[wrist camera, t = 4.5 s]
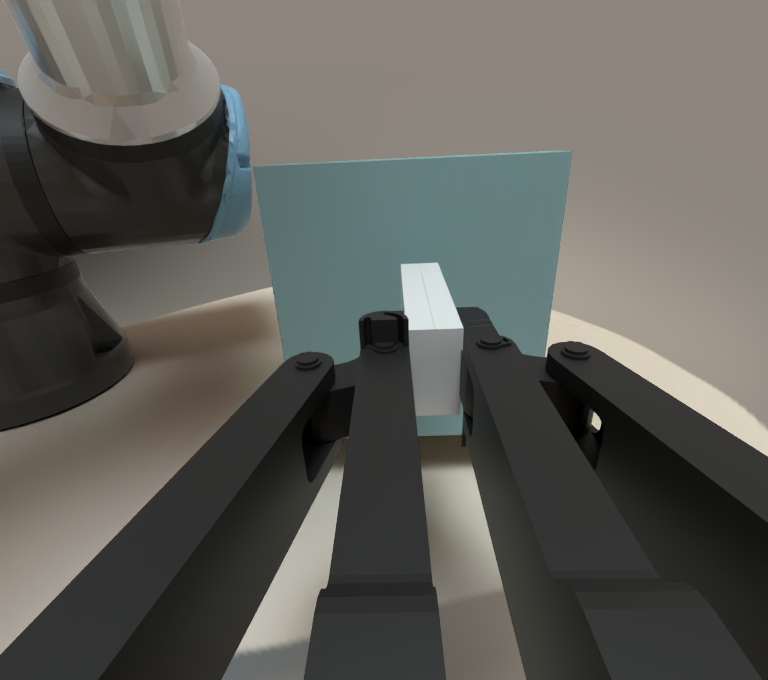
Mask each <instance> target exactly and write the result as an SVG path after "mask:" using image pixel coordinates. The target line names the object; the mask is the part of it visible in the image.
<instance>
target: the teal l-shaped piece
mask: <svg viewBox="0 0 768 680" xmlns="http://www.w3.org/2000/svg"><path fill="white" fill-rule="evenodd" d="M571 158H572V151H543V152H522V153H503V154H502V153H501V154H482V155H460V156H441V157H440V156H439V157H418V158H398V159H377V160H357V161H335V162H315V163H294V164H273V165H260V166H255V167H253V171H254V177H255V183H256V189H257V196H258V202H259V208H260V214H261V220H262V225H263V232H264V238H265V244H266V250H267V256H268V262H269V268H270V274H271V280H272V286H273V293H274V299H275V305H276V311H277V317H278V323H279V329H280V335H281V341H282V347H283V353H284V359H285V361H286V360H287V359H289V358H290V357H292V356H295V355H298V354H299V353H303V352H304V353H306V352H309V351H311V352H321V353H326V354H328V355H330V356H331V357H332V358H333V360H334V365H336V364H341V363H345V362H349V361H351V360H354V359H356V358H357V357H359V356H360V335H359V322H358V321H359V319H360V318H361V317H362V316H364V315H366V314H368V313H372V312H376V311H402V296H401V264H417V263H438V264H439V267H440V269H441V272H442V275H443V277H444V280H445V282H446V285H447V287H448V290H449V292H450V295H451V297H452V300H453V302H454V305H455V307H478V308H480V309H482V310H484V311H485V312H486V313H487V314H488V316H489V318H490V320H491V321H492V323H493V325H494V327H495V328H496V330H497V332H498V334H499V335H501V336H505V337H507V338H509V339H511V340H512V341H514V342H515V343H516V345H517V347H518V348H519V350H520V351H521V353H522V354H525V355H531V356H538V357H545V351H546V344H547V336H548V329H549V322H550V314H551V306H552V299H553V291H554V284H555V277H556V269H557V262H558V254H559V247H560V240H561V232H562V224H563V218H564V210H565V202H566V194H567V187H568V181H569V173H570V166H571ZM416 422H417V433H418V436H440V435H462V425H463V406H462V402H461V407H460V415H433V416H416ZM346 438H348V437H346Z"/></svg>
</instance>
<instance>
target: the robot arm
mask: <svg viewBox="0 0 768 680" xmlns="http://www.w3.org/2000/svg"><path fill="white" fill-rule="evenodd" d="M2 2H3V3H4V5H5V7H6V9H7V11H8V13H9V15H10V16H11V18H12V20H13V22H14V24H15V26H16V28H17V30H18V31H19V33H20V35H21V37H22V39H23V41H24V43H25V44H26V46H27V48H28V50H29V52H28V53H27V55H26V56H25V58H24V59H23V61H22V63H21V65H20V68H19V72H18V87H19V88H16V86H15V83H14V81H12V80H11V79H10V78H9V77H8V75H7V73H6V72H5V71H3V70H2V69H1V68H0V430H1V429H5V428H10V427H14V426H17V425H21V424H25V423H28V422H32V421H35V420H38V419H41V418H44V417H47V416H50V415H53V414H55V413H58V412H60V411H63V410H65V409H68V408H70V407H72V406H75V405H77V404H79V403H81V402H83V401H85V400H87V399H89V398H91V397H93V396H95V395H97V394H99V393H100V392H102V391H104V390H105V389H107V388H108V387H110V386H111V385H113V384H114V383H116V382H117V381H118V380H119V379H120V378H122V377H123V376H124V375H125V374H126V373H127V371H128V370H129V369H130V367H131V366H132V364H133V360H134V357H133V353H132V351H131V348H130V345H129V342H128V339H127V337H126V335H125V333H124V332H123V330H122V329H121V328H120V327H119V326H118V324H117V323H116V322H115V321H114V319H113V318H112V317H111V316H110V315H109V313H108V312H107V311H106V309H105V308H103V306H102V305H101V303H100V302H99V301H98V300H97V299H96V297H95V296H94V295H93V293H92V292H91V291H90V290H89V289H88V287H87V286H86V285H85V283H84V281H83V279H82V276H81V273H80V271H79V268H78V265H77V263H76V260H75V257H74V255H80V254H89V253H99V252H111V251H121V250H132V249H142V248H153V247H164V246H175V245H185V244H195V243H199V244H204V243H206V242H209V241H210V240H216V239H222V238H228V237H233V236H236V235H238V234H240V233H241V232H243V230H244V229H245V228H246V226H247V225H248V222H249V219H250V215H251V207H252V172H251V171H252V170H251V166H250V163H249V161H250V142H249V134H248V127H247V120H246V115H245V111H244V107H243V104H242V100H241V97H240V95H239V93H238V92H237V91H236V90H235V89H233V88H231V87H226V86H225V85H223V84H220V80H219V76H218V73H217V71H216V69H215V67H214V65H213V63H212V62H211V61H210V59H209V58H208V57H207V56H206V55H205V54H204V53H203V52H202V51H201V50H200V49H199V48H197V47H196V46H195V45H193V44H192V43H191V42H189V41H188V39H187V35H186V30H185V25H184V21H183V16H182V11H181V7H180V2H179V0H2ZM401 296H402V311H376V312H372V313H368V314H366V315H364V316H362V317H361V318H360V319H359V321H358V322H359V335H360V356H359V357H357V358H356V359H354V360H351V361H349V362H345V363H341V364H336V365H334V360H333V358H332V357H331V356H330V355H328V354H326V353H321V352H311V351H309V352H306V353H304V352H303V353H299V354H298V355H295V356H292V357H290V358H289V359H287V360H286V361H285V362H284V363H283V364H282V365H281V366H280V367H279V368H278V369H277V370H276V371H275V372H274V373H273V374H272V375H271V376H270V377H269V378H268V379H267V380H266V381H265V382H264V383H263V384H262V385H261V386H260V387H259V389H258V390H257V391H256V392H255V393H254V394H253V395H252V396H251V397H250V398H249V399H248V400H247V401H246V402H245V403H244V404H243V405H242V406H241V407H240V408H239V409H238V410H237V411H236V412H235V413H234V414H233V415H232V416H231V417H230V418H229V419H228V421H227V422H226V423H225V424H224V425H223V426H222V427H221V428H220V429H219V430H218V431H217V432H216V433H215V434H214V435H213V436H212V437H211V438H210V439H209V440H208V441H207V442H206V443H205V444H204V445H203V446H202V447H201V448H200V449H199V450H198V451H197V452H196V454H195V455H194V456H193V457H192V458H191V459H190V460H189V461H188V462H187V463H186V464H185V465H184V466H183V467H182V468H181V469H180V470H179V471H178V472H177V473H176V474H175V475H174V476H173V477H172V478H171V479H170V480H169V481H168V482H167V483H166V484H165V485H164V487H163V488H162V489H161V490H160V491H159V492H158V493H157V494H156V495H155V496H154V497H153V498H152V499H151V500H150V501H149V502H148V503H147V504H146V505H145V506H144V507H143V508H142V509H141V510H140V511H139V512H138V513H137V514H136V515H135V516H134V517H133V518H132V520H131V521H130V522H129V523H128V524H127V525H126V526H125V527H124V528H123V529H122V530H121V531H120V532H119V533H118V534H117V535H116V536H115V537H114V538H113V539H112V540H111V541H110V542H109V543H108V544H107V545H106V546H105V547H104V548H103V549H102V550H101V551H100V553H99V554H98V555H97V556H96V557H95V558H94V559H93V560H92V561H91V562H90V563H89V564H88V565H87V566H86V567H85V568H84V569H83V570H82V571H81V572H80V573H79V574H78V575H77V576H76V577H75V578H74V579H73V580H72V581H71V582H70V583H69V584H68V586H67V587H66V588H65V589H64V590H63V591H62V592H61V593H60V594H59V595H58V596H57V597H56V598H55V599H54V600H53V601H52V602H51V603H50V604H49V605H48V606H47V607H46V608H45V609H44V610H43V611H42V612H41V613H40V614H39V615H38V616H37V617H36V619H35V620H34V621H33V622H32V623H31V624H30V625H29V626H28V627H27V628H26V629H25V630H24V631H23V632H22V633H21V634H20V635H19V636H18V637H17V638H16V639H15V640H14V641H13V642H12V643H11V644H10V645H9V646H8V647H7V648H6V649H5V650H4V652H3V653H2V654H1V655H0V680H221V679H222V677H223V675H224V673H225V671H226V669H227V667H228V665H229V663H230V662H231V660H232V658H233V656H234V654H235V652H236V650H237V648H238V646H239V644H240V642H241V640H242V638H243V636H244V635H245V633H246V631H247V629H248V627H249V625H250V623H251V621H252V619H253V617H254V615H255V613H256V611H257V609H258V608H259V606H260V604H261V602H262V600H263V598H264V596H265V594H266V592H267V590H268V588H269V586H270V584H271V583H272V581H273V579H274V577H275V575H276V573H277V571H278V569H279V567H280V565H281V563H282V561H283V559H284V557H285V556H286V554H287V552H288V550H289V548H290V546H291V544H292V542H293V540H294V538H295V536H296V534H297V532H298V530H299V529H300V527H301V525H302V523H303V521H304V519H305V517H306V515H307V513H308V511H309V509H310V507H311V505H312V503H313V502H314V500H315V498H316V496H317V494H318V492H319V490H320V488H321V486H322V484H323V482H324V480H325V478H326V476H327V475H328V473H329V471H330V469H331V467H332V465H333V463H334V461H335V459H336V457H337V455H338V453H339V451H340V450H341V447H342V442H343V441H342V438H346V437H348V444H347V451H346V458H345V465H344V473H343V480H342V487H341V495H340V502H339V509H338V516H337V524H336V531H335V538H334V545H333V553H332V560H331V567H330V575H329V580H328V585H327V587H326V589H321V590H320V593H319V595H318V598H317V603H316V608H315V613H314V618H313V625H312V631H311V637H310V644H309V650H308V657H307V663H306V669H305V675H304V680H446V676H445V666H444V656H443V647H442V639H441V628H440V619H439V610H438V602H437V594H436V589H435V587H433V583H432V575H431V565H430V555H429V544H428V534H427V524H426V514H425V504H424V494H423V483H422V473H421V463H420V453H419V443H418V433H417V422H416V416H433V415H460V407H461V402H462V406H463V425H462V447H466V441H467V445H468V448H469V452H470V456H471V460H472V464H473V468H474V472H475V476H476V480H477V484H478V488H479V492H480V496H481V500H482V504H483V508H484V512H485V516H486V520H487V524H488V528H489V532H490V536H491V540H492V544H493V548H494V552H495V556H496V560H497V564H498V568H499V572H500V576H501V580H502V584H503V588H504V592H505V596H506V600H507V604H508V608H509V612H510V616H511V620H512V624H513V627H514V632H515V636H516V639H517V643H518V647H519V652H520V656H521V659H522V663H523V667H524V671H525V675H526V679H527V680H768V457H767V456H766V455H764V454H763V453H761V452H760V451H758V450H756V449H755V448H753V447H752V446H750V445H748V444H747V443H745V442H744V441H742V440H741V439H739V438H737V437H736V436H734V435H733V434H731V433H730V432H728V431H726V430H725V429H723V428H722V427H720V426H718V425H717V424H715V423H714V422H712V421H711V420H709V419H707V418H706V417H704V416H703V415H701V414H700V413H698V412H696V411H695V410H693V409H692V408H690V407H688V406H687V405H685V404H684V403H682V402H681V401H679V400H677V399H676V398H674V397H673V396H671V395H670V394H668V393H666V392H665V391H663V390H662V389H660V388H658V387H657V386H655V385H654V384H652V383H651V382H649V381H647V380H646V379H644V378H643V377H641V376H640V375H638V374H636V373H635V372H633V371H632V370H630V369H628V368H627V367H625V366H624V365H622V364H621V363H619V362H617V361H616V360H614V359H613V358H611V357H610V356H608V355H606V354H605V353H603V352H602V351H600V350H598V349H596V348H594V347H592V346H590V345H586V344H583V343H581V342H574V341H568V342H560V343H556V344H552V345H551V346H550V347H549V348H548V354H547V357H538V356H531V355H525V354H522V353H521V351H520V350H519V348H518V347H517V345H516V343H515V342H514V341H512V340H511V339H509V338H507V337H505V336H501V335H499V334H498V332H497V330H496V328H495V327H494V325H493V323H492V321H491V320H490V318H489V316H488V314H487V313H486V312H485V311H484V310H482V309H480V308H478V307H455V305H454V302H453V300H452V297H451V295H450V292H449V290H448V287H447V285H446V282H445V280H444V277H443V275H442V272H441V269H440V267H439V264H438V263H417V264H401ZM594 412H595V413H596V414H597V415H598V416H599V418H600V420H601V422H602V423H601V428H600V430H597V429H596V428H595V427H594V426H593V425H591V423H592V418H593V413H594Z"/></svg>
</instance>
